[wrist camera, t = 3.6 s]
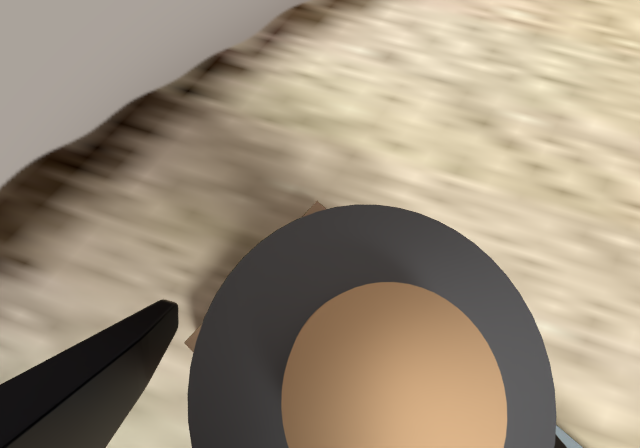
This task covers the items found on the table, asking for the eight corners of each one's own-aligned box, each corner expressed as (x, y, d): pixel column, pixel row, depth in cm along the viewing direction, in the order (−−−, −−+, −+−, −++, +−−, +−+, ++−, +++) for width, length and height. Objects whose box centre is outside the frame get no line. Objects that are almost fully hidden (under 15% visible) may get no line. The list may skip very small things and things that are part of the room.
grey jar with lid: (329, 405, 15) (457, 916, 2) (254, 334, 16) (45, 428, 3) (390, 324, 17) (704, 368, 4) (319, 261, 17) (359, 108, 4)
